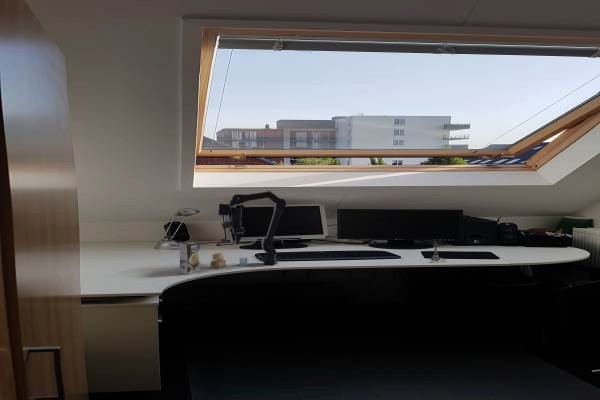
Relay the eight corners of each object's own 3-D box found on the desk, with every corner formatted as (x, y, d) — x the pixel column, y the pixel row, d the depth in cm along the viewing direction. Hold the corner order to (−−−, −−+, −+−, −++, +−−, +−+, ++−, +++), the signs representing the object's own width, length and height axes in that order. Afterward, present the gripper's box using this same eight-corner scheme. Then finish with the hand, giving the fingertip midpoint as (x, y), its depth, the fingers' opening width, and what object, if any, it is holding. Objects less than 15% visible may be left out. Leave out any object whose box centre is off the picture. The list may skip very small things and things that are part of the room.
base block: (225, 266, 249) (225, 260, 249) (219, 269, 244) (219, 262, 243) (216, 265, 252) (216, 259, 251) (210, 268, 246) (210, 261, 246)
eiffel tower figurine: (429, 263, 263) (430, 241, 261) (420, 260, 272) (421, 238, 271) (451, 262, 267) (451, 240, 266) (440, 258, 277) (441, 237, 276)
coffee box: (188, 274, 230) (188, 244, 229) (179, 273, 233) (179, 243, 232) (200, 271, 238) (200, 241, 237) (191, 269, 241) (191, 240, 240)
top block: (223, 259, 250) (223, 252, 249) (221, 261, 245) (221, 254, 244) (214, 259, 250) (214, 252, 250) (212, 261, 245) (212, 254, 245)
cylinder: (248, 264, 255) (248, 257, 254) (244, 266, 251) (244, 259, 250) (242, 263, 257) (242, 257, 256) (238, 265, 253) (238, 258, 252)
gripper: (219, 213, 256) (218, 240, 257) (225, 217, 238) (224, 246, 240) (238, 213, 260) (237, 239, 261) (245, 217, 242) (244, 245, 243)
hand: (235, 242), depth 251 cm, fingers open, 9 cm apart
